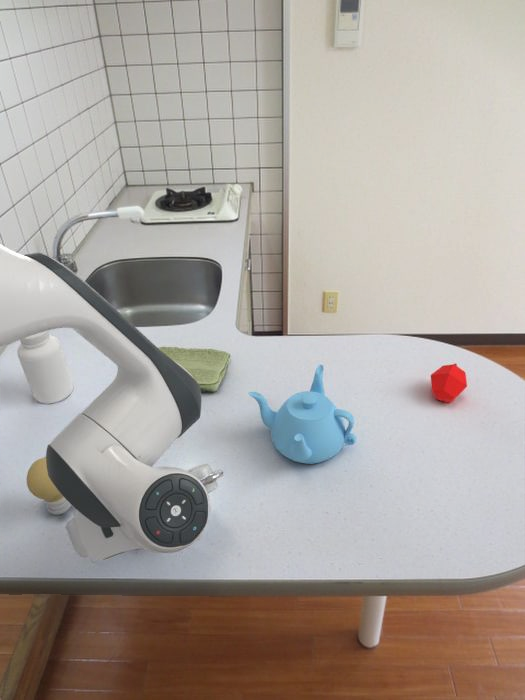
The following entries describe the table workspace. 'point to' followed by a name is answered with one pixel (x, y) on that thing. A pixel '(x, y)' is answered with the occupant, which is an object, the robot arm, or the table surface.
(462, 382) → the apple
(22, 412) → the table surface
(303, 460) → the teapot
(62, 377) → the pill bottle
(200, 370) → the washcloth
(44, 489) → the light bulb
